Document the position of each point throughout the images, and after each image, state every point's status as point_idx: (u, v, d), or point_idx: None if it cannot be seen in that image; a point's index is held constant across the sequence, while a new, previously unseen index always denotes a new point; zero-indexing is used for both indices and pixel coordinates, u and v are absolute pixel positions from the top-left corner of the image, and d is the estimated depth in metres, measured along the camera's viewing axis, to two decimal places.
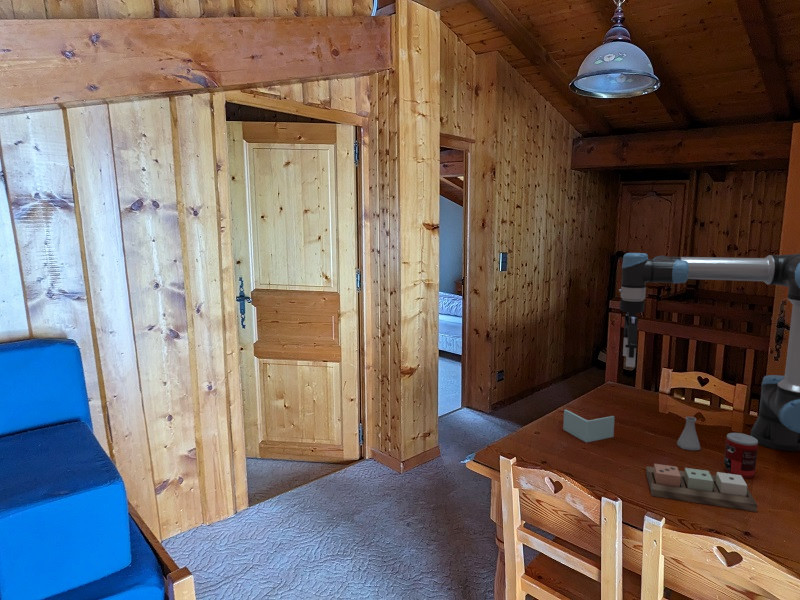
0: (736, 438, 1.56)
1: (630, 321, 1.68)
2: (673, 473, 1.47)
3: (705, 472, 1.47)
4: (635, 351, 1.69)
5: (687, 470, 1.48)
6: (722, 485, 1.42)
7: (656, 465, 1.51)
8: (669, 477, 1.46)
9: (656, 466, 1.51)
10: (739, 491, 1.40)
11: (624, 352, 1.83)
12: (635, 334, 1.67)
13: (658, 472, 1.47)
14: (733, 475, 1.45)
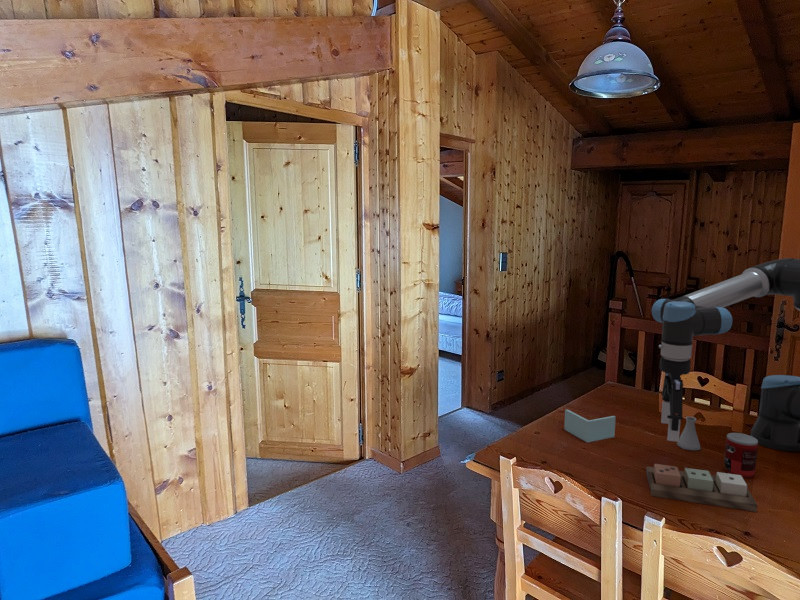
0: (736, 438, 1.56)
1: (674, 387, 1.38)
2: (673, 473, 1.47)
3: (705, 472, 1.47)
4: (679, 423, 1.39)
5: (687, 470, 1.48)
6: (722, 485, 1.42)
7: (656, 465, 1.51)
8: (669, 477, 1.46)
9: (656, 466, 1.51)
10: (739, 491, 1.40)
11: (663, 419, 1.53)
12: (680, 403, 1.37)
13: (658, 472, 1.47)
14: (733, 475, 1.45)
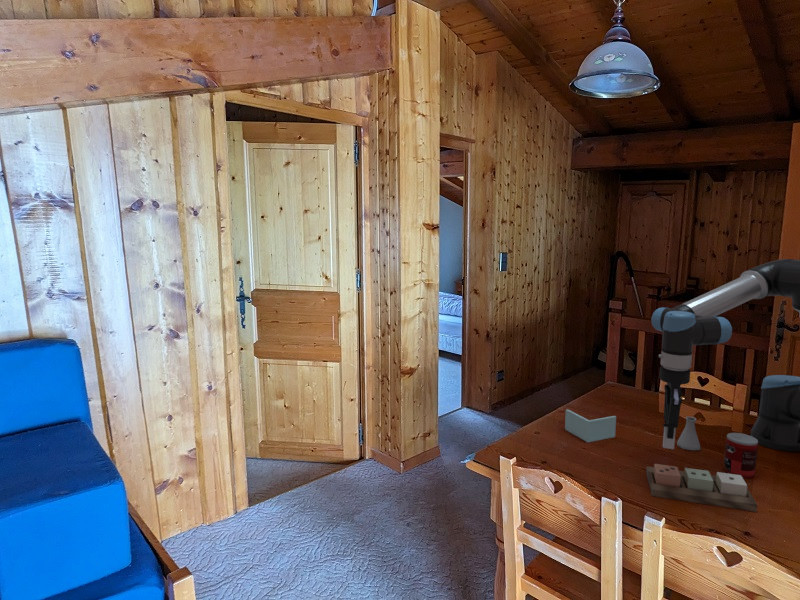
0: (736, 438, 1.56)
1: (672, 403, 1.40)
2: (673, 473, 1.47)
3: (705, 472, 1.47)
4: (675, 431, 1.46)
5: (687, 470, 1.48)
6: (722, 485, 1.42)
7: (656, 465, 1.51)
8: (669, 477, 1.46)
9: (656, 466, 1.51)
10: (739, 491, 1.40)
11: None
12: (677, 416, 1.41)
13: (658, 472, 1.47)
14: (733, 475, 1.45)
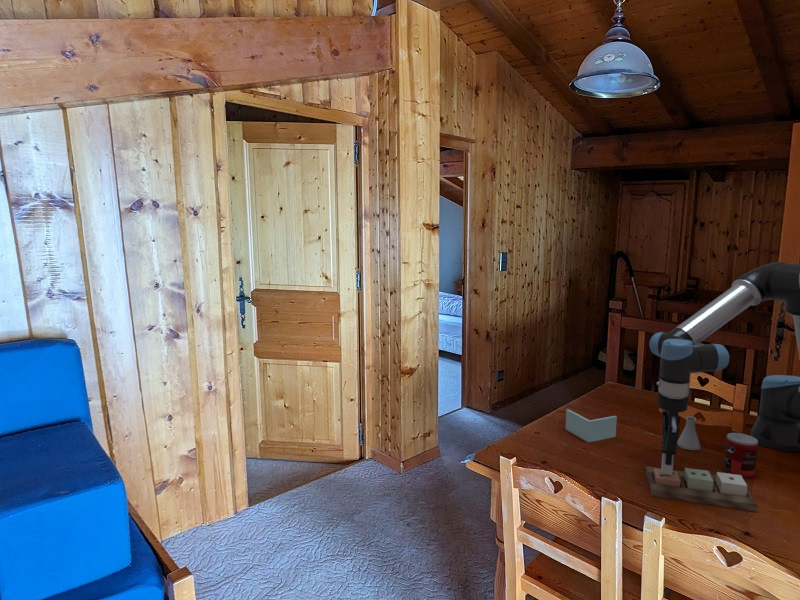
0: (736, 438, 1.56)
1: (670, 431, 1.41)
2: (673, 477, 1.47)
3: (705, 472, 1.47)
4: (673, 457, 1.47)
5: (687, 470, 1.48)
6: (722, 485, 1.42)
7: (656, 469, 1.52)
8: (668, 482, 1.46)
9: (656, 470, 1.51)
10: (739, 491, 1.40)
11: None
12: (675, 443, 1.43)
13: (658, 477, 1.47)
14: (733, 475, 1.45)
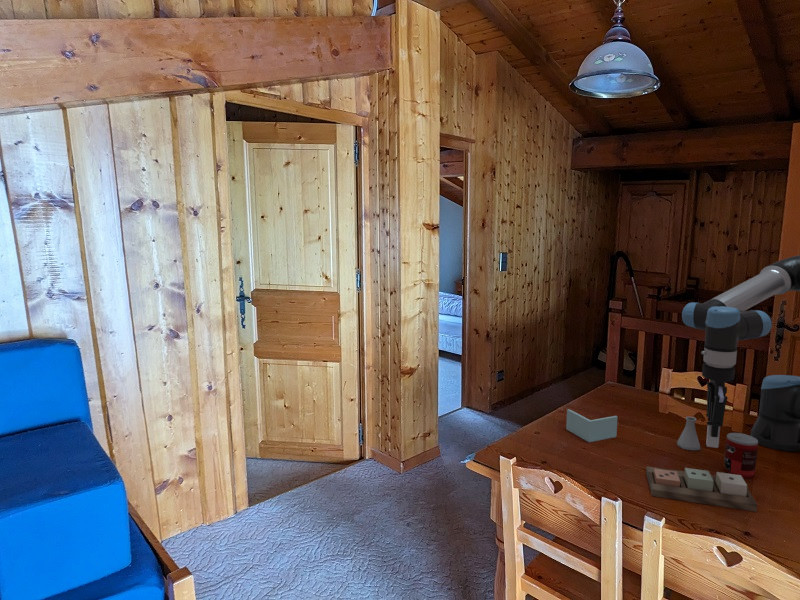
0: (736, 438, 1.56)
1: (717, 401, 1.37)
2: (673, 477, 1.47)
3: (705, 472, 1.47)
4: (719, 429, 1.42)
5: (687, 470, 1.48)
6: (722, 485, 1.42)
7: (656, 470, 1.52)
8: (668, 482, 1.46)
9: (656, 471, 1.51)
10: (739, 491, 1.40)
11: None
12: (722, 414, 1.38)
13: (658, 477, 1.47)
14: (733, 475, 1.45)
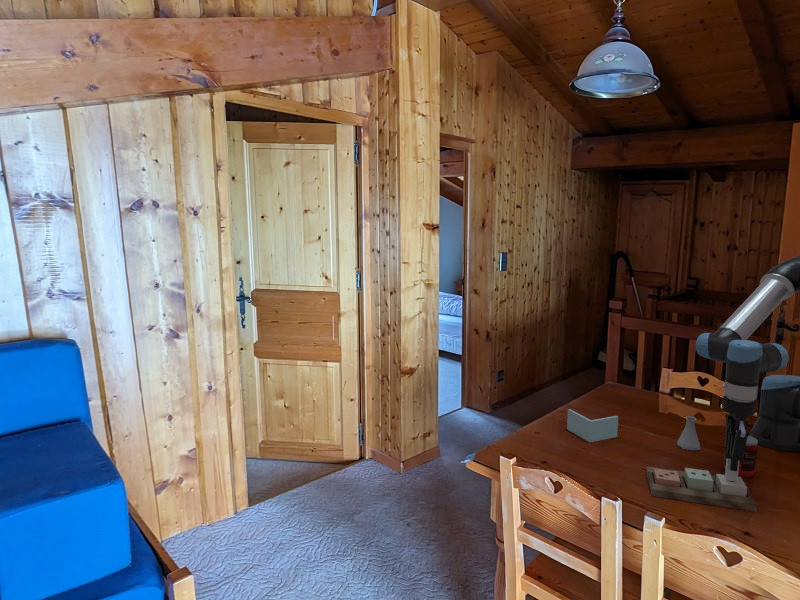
0: None
1: (738, 435, 1.36)
2: (673, 477, 1.47)
3: (705, 472, 1.47)
4: (738, 463, 1.41)
5: (687, 470, 1.48)
6: (722, 487, 1.42)
7: (656, 470, 1.52)
8: (668, 482, 1.46)
9: (656, 471, 1.51)
10: (739, 493, 1.41)
11: None
12: (742, 449, 1.37)
13: (658, 477, 1.47)
14: None
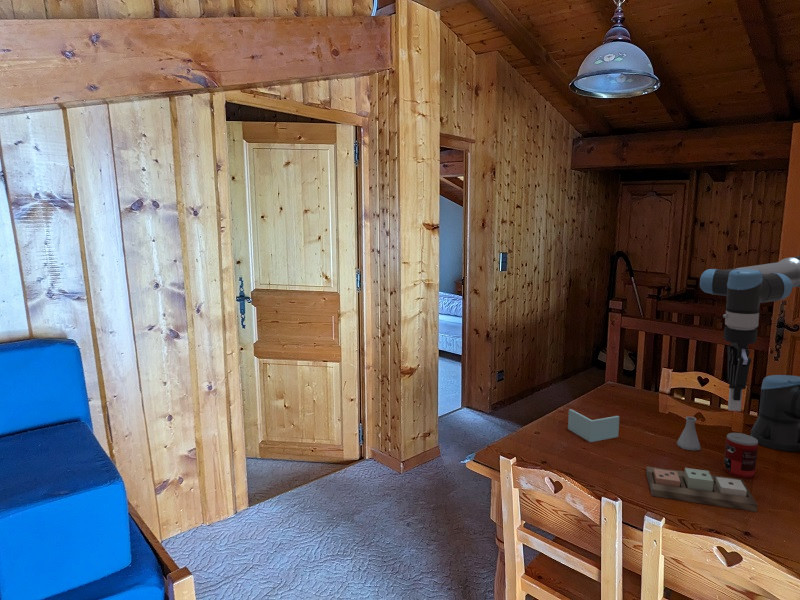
0: (736, 438, 1.56)
1: (741, 363, 1.36)
2: (673, 477, 1.47)
3: (705, 472, 1.47)
4: (741, 392, 1.42)
5: (687, 470, 1.48)
6: (722, 490, 1.42)
7: (656, 470, 1.52)
8: (668, 482, 1.46)
9: (656, 471, 1.51)
10: None
11: None
12: (745, 376, 1.38)
13: (658, 477, 1.47)
14: (733, 480, 1.45)
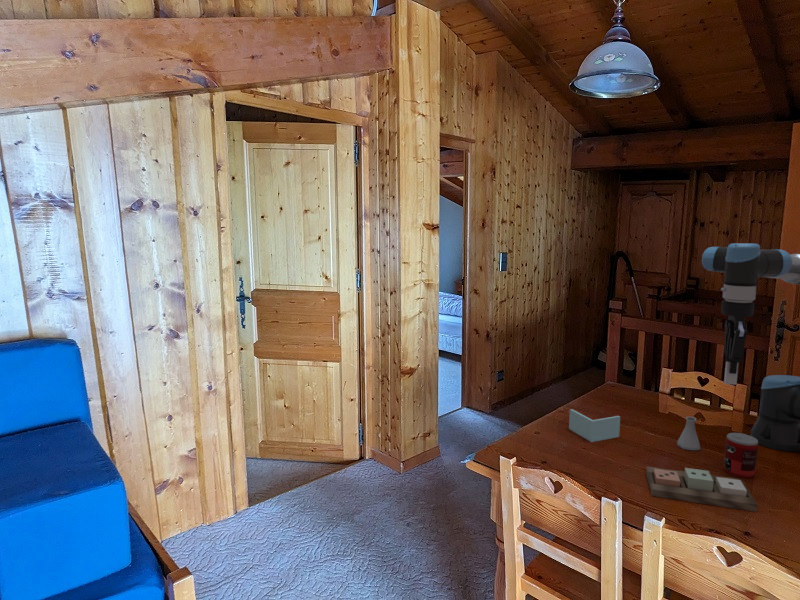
0: (736, 438, 1.56)
1: (737, 335, 1.38)
2: (673, 477, 1.47)
3: (705, 472, 1.47)
4: (737, 366, 1.43)
5: (687, 470, 1.48)
6: (722, 490, 1.42)
7: (656, 470, 1.52)
8: (668, 482, 1.46)
9: (656, 471, 1.51)
10: None
11: None
12: (741, 349, 1.39)
13: (658, 477, 1.47)
14: (733, 480, 1.45)
